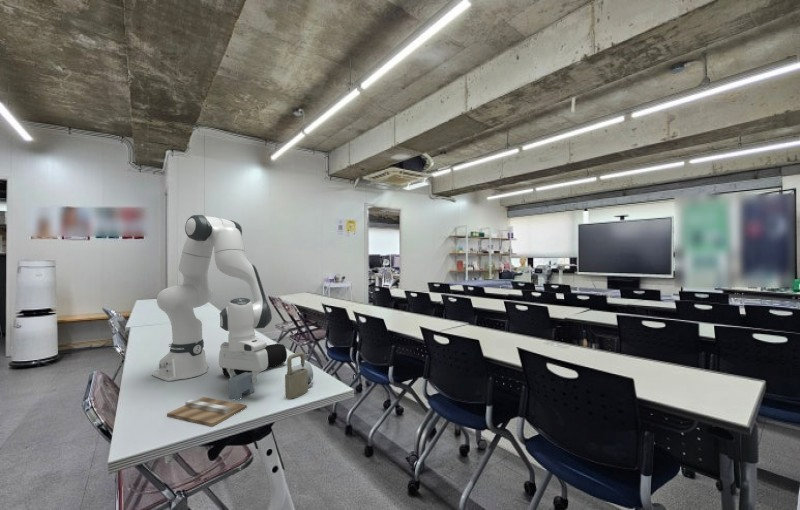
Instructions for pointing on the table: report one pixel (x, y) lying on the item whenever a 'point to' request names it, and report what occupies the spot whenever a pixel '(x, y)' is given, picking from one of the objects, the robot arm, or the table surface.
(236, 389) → the block
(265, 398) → the table surface
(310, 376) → the ceramic mug
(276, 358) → the portable speaker
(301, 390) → the padlock
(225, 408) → the striped wooden board
